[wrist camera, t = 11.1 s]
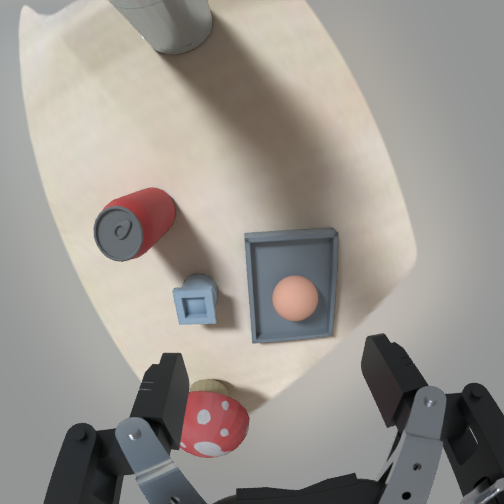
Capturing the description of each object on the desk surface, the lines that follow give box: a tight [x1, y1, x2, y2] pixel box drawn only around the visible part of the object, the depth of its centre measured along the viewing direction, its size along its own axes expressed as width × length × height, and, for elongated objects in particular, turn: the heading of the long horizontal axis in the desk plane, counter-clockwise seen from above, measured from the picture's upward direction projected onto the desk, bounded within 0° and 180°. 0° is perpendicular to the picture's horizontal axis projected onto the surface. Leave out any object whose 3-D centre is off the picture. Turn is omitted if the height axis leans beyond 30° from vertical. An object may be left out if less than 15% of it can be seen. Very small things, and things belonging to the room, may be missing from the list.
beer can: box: [94, 188, 176, 262], centre depth 30 cm, size 7×7×12 cm
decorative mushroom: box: [180, 379, 249, 458], centre depth 39 cm, size 13×13×15 cm
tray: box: [245, 228, 338, 343], centre depth 39 cm, size 16×12×2 cm
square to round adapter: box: [172, 274, 218, 325], centre depth 38 cm, size 5×5×5 cm
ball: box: [272, 275, 318, 321], centre depth 36 cm, size 6×6×6 cm
